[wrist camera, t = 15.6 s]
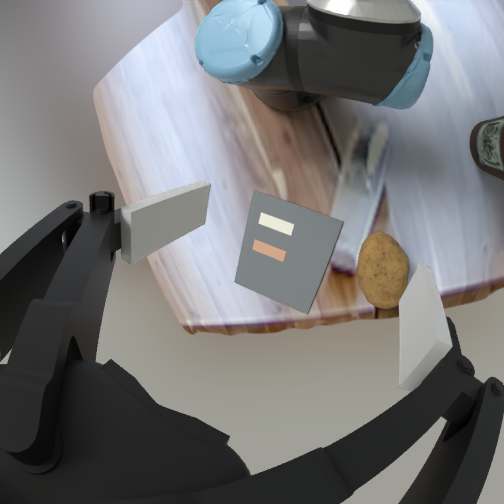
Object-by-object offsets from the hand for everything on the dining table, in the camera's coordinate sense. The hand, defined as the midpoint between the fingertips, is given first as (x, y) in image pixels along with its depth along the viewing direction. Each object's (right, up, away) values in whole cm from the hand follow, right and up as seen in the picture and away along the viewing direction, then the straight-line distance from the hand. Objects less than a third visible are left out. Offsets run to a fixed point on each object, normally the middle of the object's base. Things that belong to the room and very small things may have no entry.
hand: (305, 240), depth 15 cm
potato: (+21, -2, +32) cm, 39 cm away
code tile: (+3, -1, +41) cm, 41 cm away
